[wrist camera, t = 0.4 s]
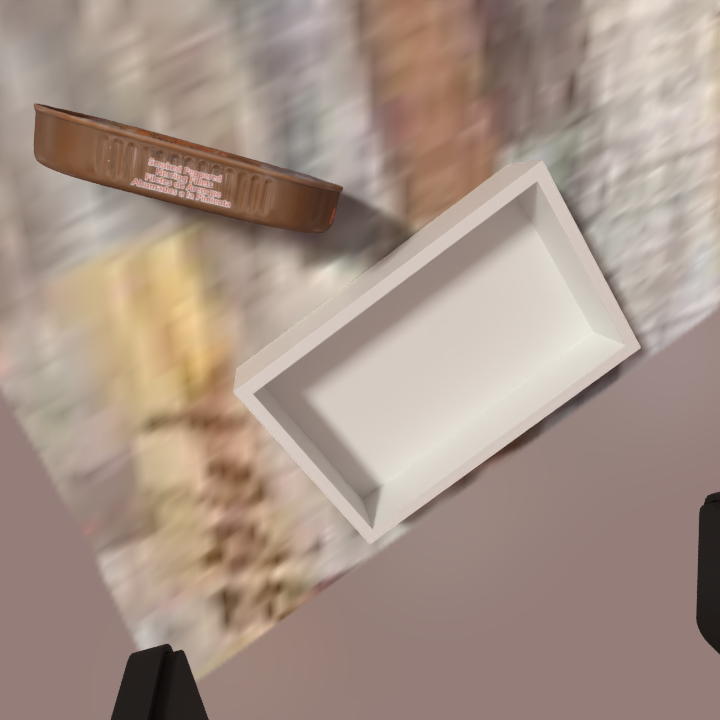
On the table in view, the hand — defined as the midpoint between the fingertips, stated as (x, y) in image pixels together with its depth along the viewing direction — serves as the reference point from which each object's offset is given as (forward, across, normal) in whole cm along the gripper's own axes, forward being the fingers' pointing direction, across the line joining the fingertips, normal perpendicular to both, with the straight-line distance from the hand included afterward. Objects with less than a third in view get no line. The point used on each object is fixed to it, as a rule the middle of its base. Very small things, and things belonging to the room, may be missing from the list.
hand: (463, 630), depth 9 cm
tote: (+28, -7, +4) cm, 29 cm away
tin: (+28, +5, -10) cm, 30 cm away
